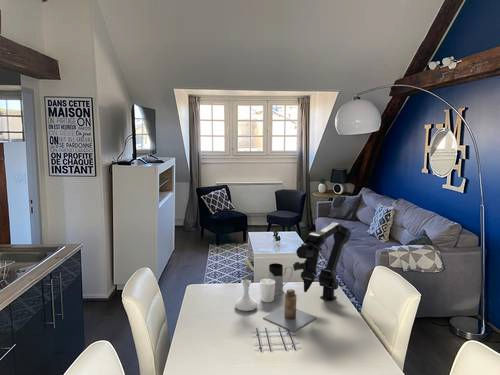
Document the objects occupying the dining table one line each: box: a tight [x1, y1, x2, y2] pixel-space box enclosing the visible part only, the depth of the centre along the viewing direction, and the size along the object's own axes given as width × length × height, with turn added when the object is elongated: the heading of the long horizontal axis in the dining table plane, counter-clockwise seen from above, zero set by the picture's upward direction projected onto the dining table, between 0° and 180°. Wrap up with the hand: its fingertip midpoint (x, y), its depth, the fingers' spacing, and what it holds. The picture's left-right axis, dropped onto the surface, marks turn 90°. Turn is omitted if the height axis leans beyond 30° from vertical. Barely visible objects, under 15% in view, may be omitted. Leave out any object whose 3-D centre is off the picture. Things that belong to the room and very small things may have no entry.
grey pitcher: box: [268, 262, 294, 296], centre depth 210 cm, size 9×14×15 cm, turn 107°
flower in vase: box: [234, 257, 258, 312], centre depth 190 cm, size 13×11×25 cm
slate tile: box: [262, 305, 318, 333], centre depth 181 cm, size 18×18×1 cm
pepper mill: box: [284, 288, 297, 320], centre depth 180 cm, size 5×5×13 cm
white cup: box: [259, 278, 275, 303], centre depth 200 cm, size 8×8×10 cm
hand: (306, 290), depth 187 cm, fingers open, 9 cm apart
